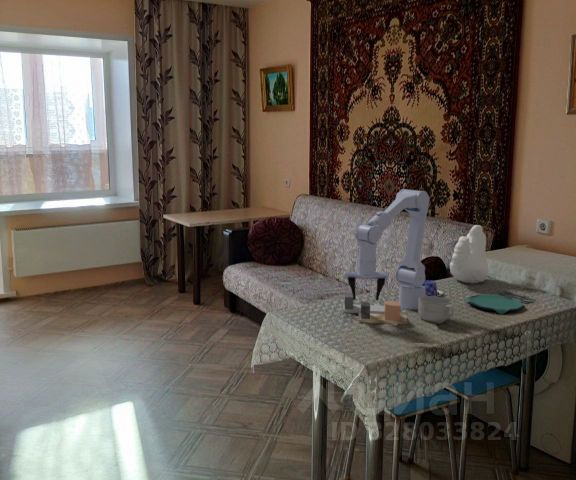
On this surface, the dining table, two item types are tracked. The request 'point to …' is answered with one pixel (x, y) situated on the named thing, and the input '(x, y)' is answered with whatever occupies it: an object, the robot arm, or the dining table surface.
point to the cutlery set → (499, 302)
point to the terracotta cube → (391, 310)
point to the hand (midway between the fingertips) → (365, 299)
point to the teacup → (435, 309)
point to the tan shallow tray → (377, 316)
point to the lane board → (363, 322)
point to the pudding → (431, 288)
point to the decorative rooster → (470, 257)
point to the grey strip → (359, 306)
